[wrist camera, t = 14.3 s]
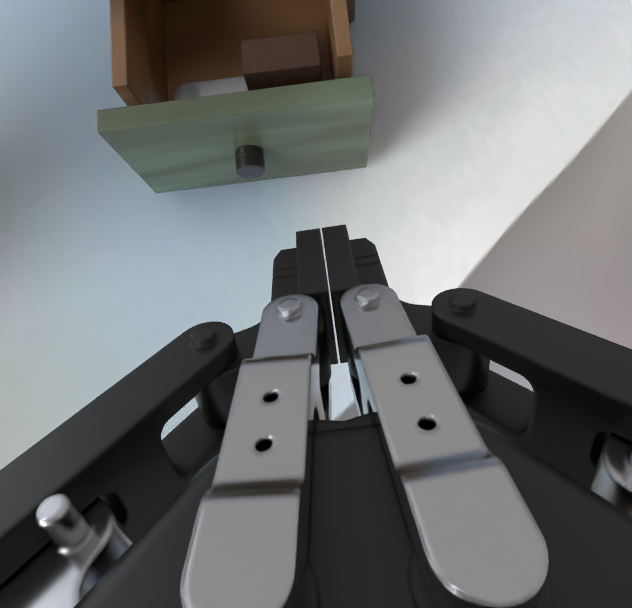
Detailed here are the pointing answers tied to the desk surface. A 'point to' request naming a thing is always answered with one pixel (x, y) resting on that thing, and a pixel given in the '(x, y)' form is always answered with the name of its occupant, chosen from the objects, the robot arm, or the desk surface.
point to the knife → (266, 66)
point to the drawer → (231, 94)
